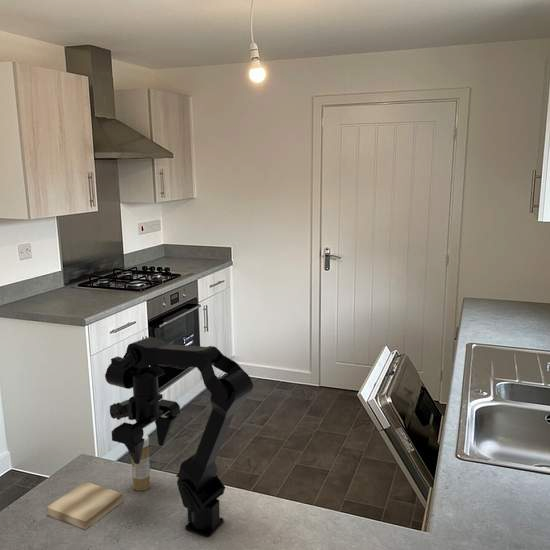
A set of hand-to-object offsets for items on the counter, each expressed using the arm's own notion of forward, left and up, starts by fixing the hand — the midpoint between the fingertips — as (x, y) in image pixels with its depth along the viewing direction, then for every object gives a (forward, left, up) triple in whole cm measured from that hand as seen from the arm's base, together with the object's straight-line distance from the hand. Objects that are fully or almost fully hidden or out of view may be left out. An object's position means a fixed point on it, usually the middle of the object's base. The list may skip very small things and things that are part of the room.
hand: (149, 454), depth 129 cm
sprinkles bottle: (+7, -5, -13) cm, 15 cm away
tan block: (+13, +8, -13) cm, 20 cm away
